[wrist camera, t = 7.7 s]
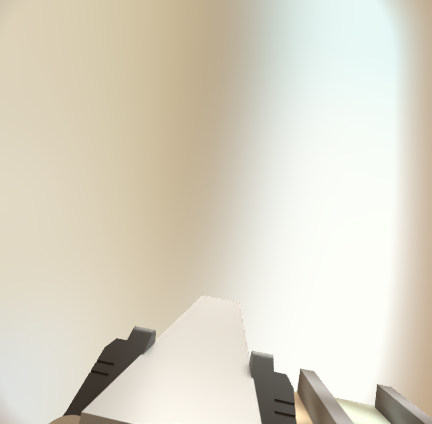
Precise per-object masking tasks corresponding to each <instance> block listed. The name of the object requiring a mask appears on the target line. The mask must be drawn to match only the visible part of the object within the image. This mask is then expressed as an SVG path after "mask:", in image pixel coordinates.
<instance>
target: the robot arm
mask: <svg viewBox="0 0 432 424" xmlns="http://www.w3.org/2000/svg"><path fill="white" fill-rule="evenodd" d="M155 336H156V331H155V330H151V329H145V328H141V327H136V326H135V327H134V328H133V330H132V332H131V334H130V336H129V338H128V340H122V339H117V338H116V339H115V340H114V341H113V342H111V343H110V344H109V345H107V346H106V347H105V348H104V350H103V351H102V353H101V355H100V356H99V358H98V360H97V362H96V363H95V365H94V366H93V368H92V370H91V372H90V373H89V375H88V376H87V378H86V380H85V381H84V383H83V384H82V386H81V388H80V389H79V391H78V393H77V394H76V396H75V398H74V399H73V401H72V403H71V404H70V406H69V408H68V409H67V411H66V412H65V414H64V415H63V417H60V418H58V419H56V420H54V421H52V422H51V423H50V424H79V421H80V417H81V412H82V411H83V410H84V409H85V408H86V407H87V406H88V405H89V404H90V403H91V402H92V401H93V400H94V399H96V398H97V397H98V396H99V395H100V394H101V393H102V392H103V391H104V390H105V389H106V388H107V387H108V386H109V385H110V384H111V383H112V382H113V381H114V380H115V379H116V378H117V377H118V376H119V375H120V374H121V373H122V372H124V371H125V370H126V369H127V368H128V367H129V366H130V365H131V364H132V363H133V362H134V361H135V360H136V359H137V358H138V357H139V356H140V355H141V354H142V355H143V354H144V353H145V352H146V351H147V350H148V349H149V348H150V347H151V346H152V345H153V344H154V343H155ZM249 366H250V372H251V378H253V380H254V385H255V391H256V396H257V402H258V407H259V412H260V418H261V423H262V424H297V421H296V410H295V399H294V389H293V387H292V385H291V383H290V381H289V379H288V377H287V375H286V374H281V373H277V372H274V366H273V355H270V354H265V353H260V352H255V351H252V353H251V357H250V361H249Z"/></svg>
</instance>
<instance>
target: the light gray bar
mask: <svg viewBox="0 0 432 424" xmlns="http://www.w3.org/2000/svg"><path fill="white" fill-rule="evenodd" d="M249 361H250V358H249V352H248V347H247V341H246V336H245V330H244V325H243V319H242V314H241V309H240V303H238V302H234V301H228V300H224V299H218V298H213V297H208V296H201V297H200V298H199V299H198V300H197V301H196V302H195V303H194V304H193V305H192V306H191V307H190V308H189V309H188V310H187V311H186V312H185V313H184V314H183V315H182V316H181V317H180V318H178V319H177V320H176V321H175V322H174V323H173V324H172V325H171V326H170V327H169V328H168V329H167V330H166V331H165V332H164V333H163V334H162V335H161V336H160V337H159V338H158V339H157V340H156V341H155V343H154V344H153V345H152V346H151V347H150V348H149V349H148V350H147V351H146V352H145V353H144V354H143V355H142V354H141V355H140V356H139V357H138V358H137V359H136V360H135V361H134V362H133V363H132V364H131V365H130V366H129V367H128V368H127V369H126V370H125V371H124V372H122V373H121V374H120V375H119V376H118V377H117V378H116V379H115V380H114V381H113V382H112V383H111V384H110V385H109V386H108V387H107V388H106V389H105V390H104V391H103V392H102V393H101V394H100V395H99V396H98V397H97V398H96V399H94V400H93V401H92V402H91V403H90V404H89V405H88V406H87V407H86V408H85V409H84V410H83V411H82V412H81V417H80V421H79V424H262V423H261V418H260V412H259V407H258V402H257V396H256V391H255V385H254V380H253V378H251V372H250V366H249Z"/></svg>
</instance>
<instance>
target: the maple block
mask: <svg viewBox="0 0 432 424" xmlns="http://www.w3.org/2000/svg"><path fill="white" fill-rule="evenodd" d="M294 399H295V410H296V421H297V424H432V418H431V417H429V416H428V415H427V414H425V413H424V412H423V411H422V410H420V409H419V408H418V407H416V406H415V405H414V404H413V403H411V402H410V401H409V400H407V399H406V398H405V397H403V396H402V395H401V394H399V393H398V392H397V391H396V390H394V389H393V388H391V387H388V386H383V385H378V384H377V392H376V400H375V407H374V406H372V405H367V404H362V403H358V402H353V401H348V400H343V399H339V398H334V397H333V395H332V394H331V393H330V392H329V390H328V389H327V388H326V387H325V385H324V384H323V383H322V381H321V380H320V379H319V377H318V376H317V375H316V373H315V372H314V371H309V370H304V369H300V375H299V383H298V390H297V392H294Z"/></svg>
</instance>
